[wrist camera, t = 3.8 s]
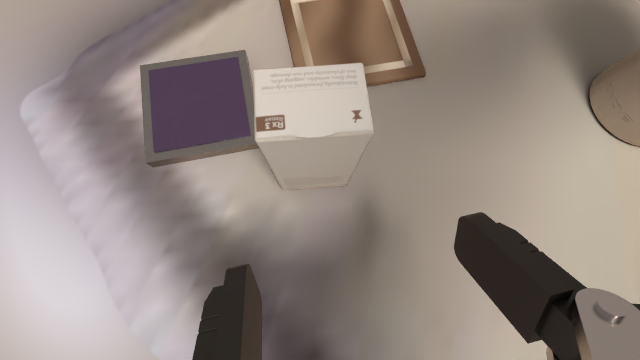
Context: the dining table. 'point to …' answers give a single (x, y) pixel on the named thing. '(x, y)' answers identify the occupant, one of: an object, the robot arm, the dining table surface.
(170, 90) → the ink pad
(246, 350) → the robot arm
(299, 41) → the marked board
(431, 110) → the dining table surface
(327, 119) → the skincare box
